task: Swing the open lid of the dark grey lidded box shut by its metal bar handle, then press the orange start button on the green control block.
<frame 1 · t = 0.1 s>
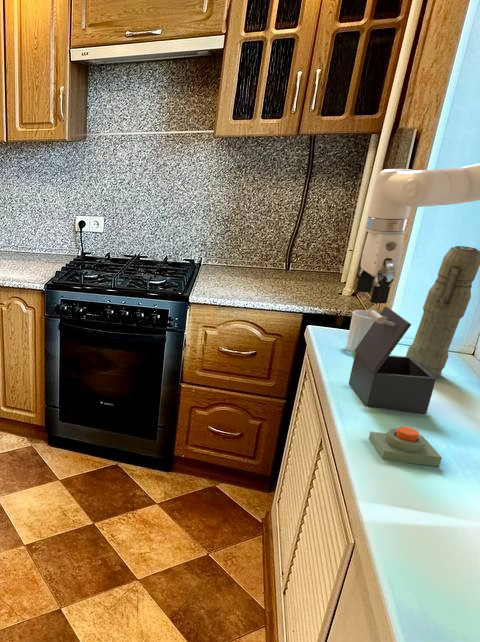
hand: (370, 297, 126), 27 cm above the worktop, tool pointing down, fingers open, 9 cm apart
cup: (357, 351, 163), on the worktop
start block: (402, 452, 111), on the worktop
start button: (407, 434, 109), point 4 cm above the worktop, slide at 0.1 cm
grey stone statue: (421, 371, 148), on the worktop
dark grey lidded box: (384, 398, 134), on the worktop
box lid: (372, 335, 129), point 17 cm above the worktop, hinge at 70.0°
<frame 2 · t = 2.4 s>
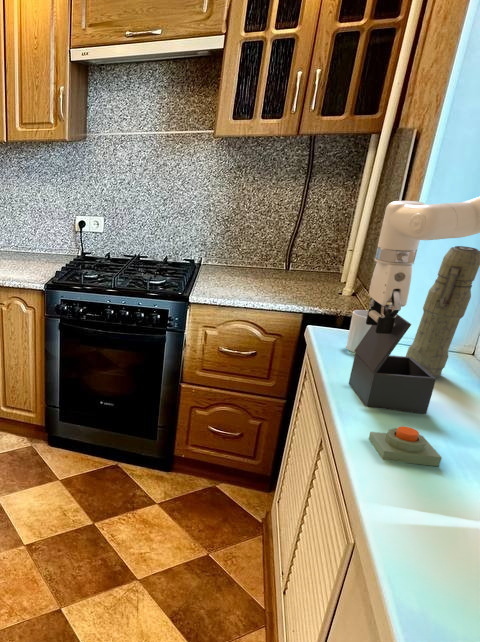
hand: (378, 328, 128), 19 cm above the worktop, tool pointing down, fingers closed on box lid, 5 cm apart
box lid: (372, 335, 129), point 17 cm above the worktop, hinge at 70.0°, touching gripper
everything else where it was.
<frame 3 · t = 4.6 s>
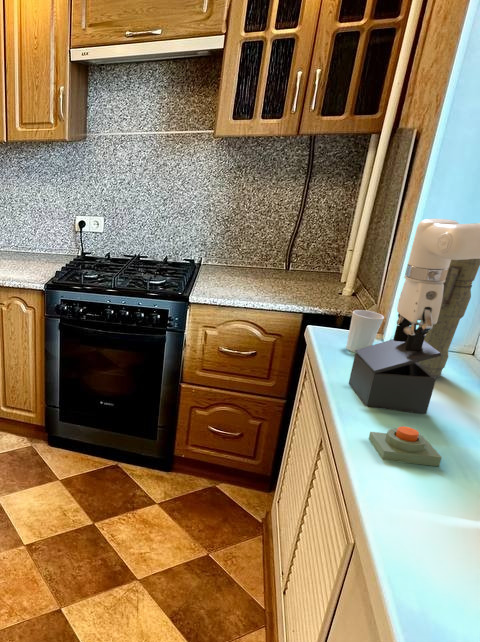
hand: (406, 345, 128), 15 cm above the worktop, tool pointing down, fingers closed on box lid, 5 cm apart
box lid: (393, 345, 129), point 14 cm above the worktop, hinge at 25.1°, touching gripper
everything else where it was.
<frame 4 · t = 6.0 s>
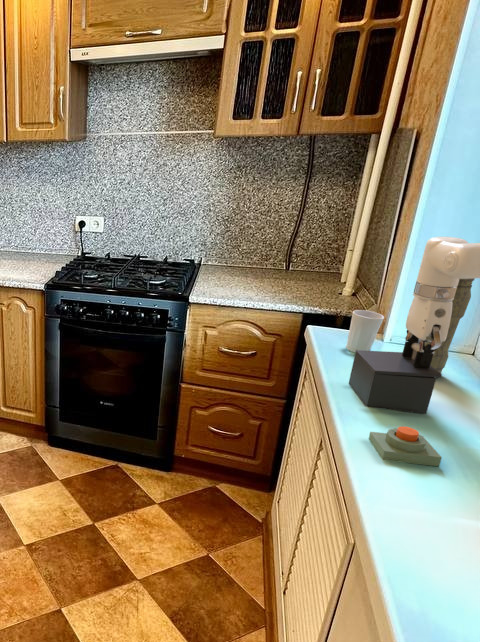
hand: (415, 361, 129), 11 cm above the worktop, tool pointing down, fingers closed on box lid, 5 cm apart
box lid: (397, 355, 129), point 12 cm above the worktop, hinge at 1.5°, touching gripper
everything else where it was.
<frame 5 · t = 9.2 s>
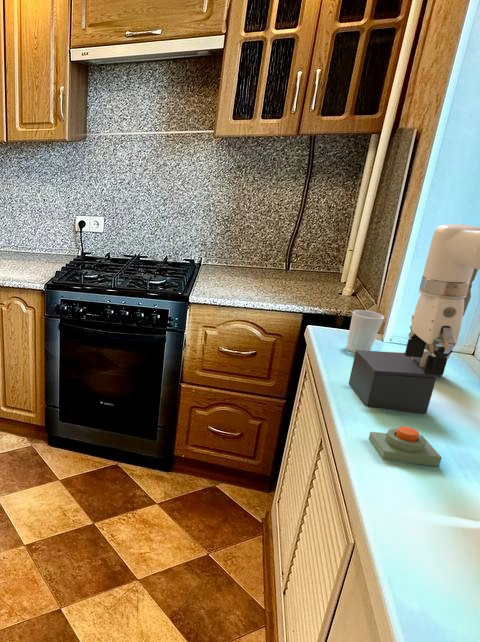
hand: (422, 364, 112), 17 cm above the worktop, tool pointing down, fingers open, 9 cm apart
box lid: (397, 355, 129), point 12 cm above the worktop, hinge at 0.9°
everything else where it was.
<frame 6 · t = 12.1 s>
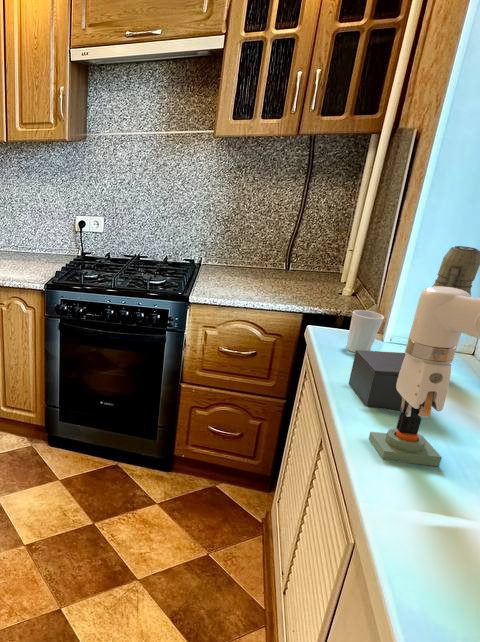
hand: (406, 431, 109), 5 cm above the worktop, tool pointing down, fingers closed
start button: (406, 435, 109), point 4 cm above the worktop, slide at -0.2 cm, touching gripper
everything else where it was.
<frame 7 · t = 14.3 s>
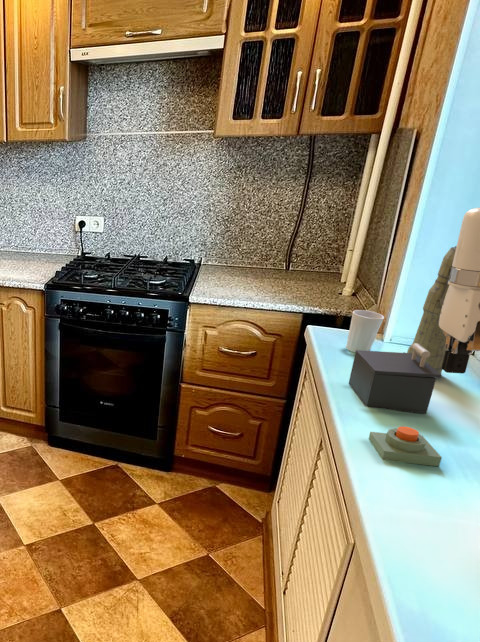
hand: (452, 371, 101), 20 cm above the worktop, tool pointing down, fingers closed
start button: (407, 434, 109), point 4 cm above the worktop, slide at 0.1 cm
everything else where it was.
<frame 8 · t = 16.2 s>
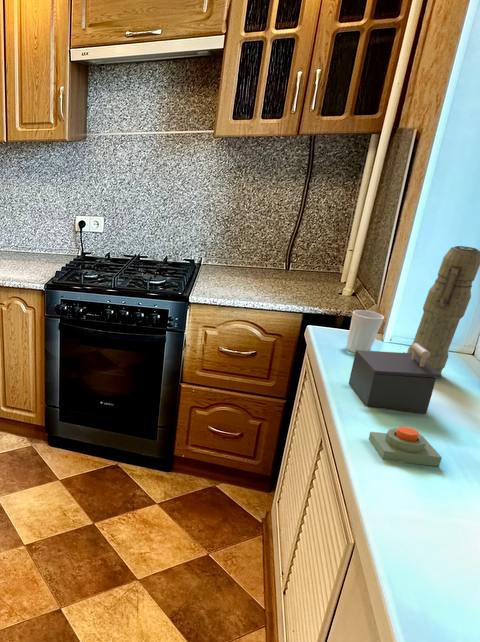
nothing on the worktop moved.
at the end: box lid at +1° (first picture: +70°); start button pushed in 1.1 cm at the most during the clip, back to where it started at the end; start button slide at 0.1 cm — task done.
